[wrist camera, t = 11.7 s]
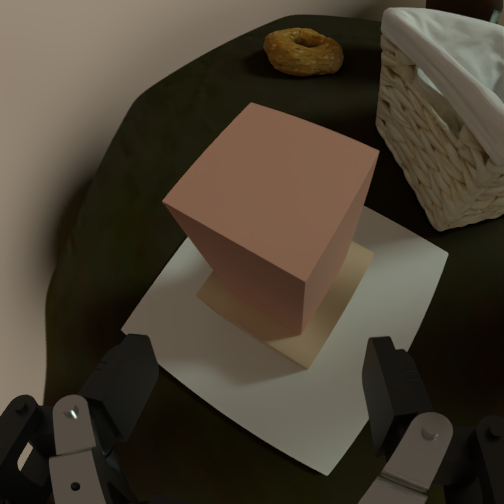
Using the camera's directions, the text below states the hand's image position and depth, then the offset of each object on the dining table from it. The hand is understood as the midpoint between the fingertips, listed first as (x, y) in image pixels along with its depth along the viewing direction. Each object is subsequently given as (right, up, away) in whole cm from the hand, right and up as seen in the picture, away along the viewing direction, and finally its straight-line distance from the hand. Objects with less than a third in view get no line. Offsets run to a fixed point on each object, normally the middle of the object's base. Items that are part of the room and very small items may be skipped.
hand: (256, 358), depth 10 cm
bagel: (+7, +30, +25) cm, 40 cm away
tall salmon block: (+2, +2, +8) cm, 8 cm away
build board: (+3, 0, +13) cm, 13 cm away
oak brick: (+3, 0, +12) cm, 13 cm away
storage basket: (+25, +14, +16) cm, 32 cm away
